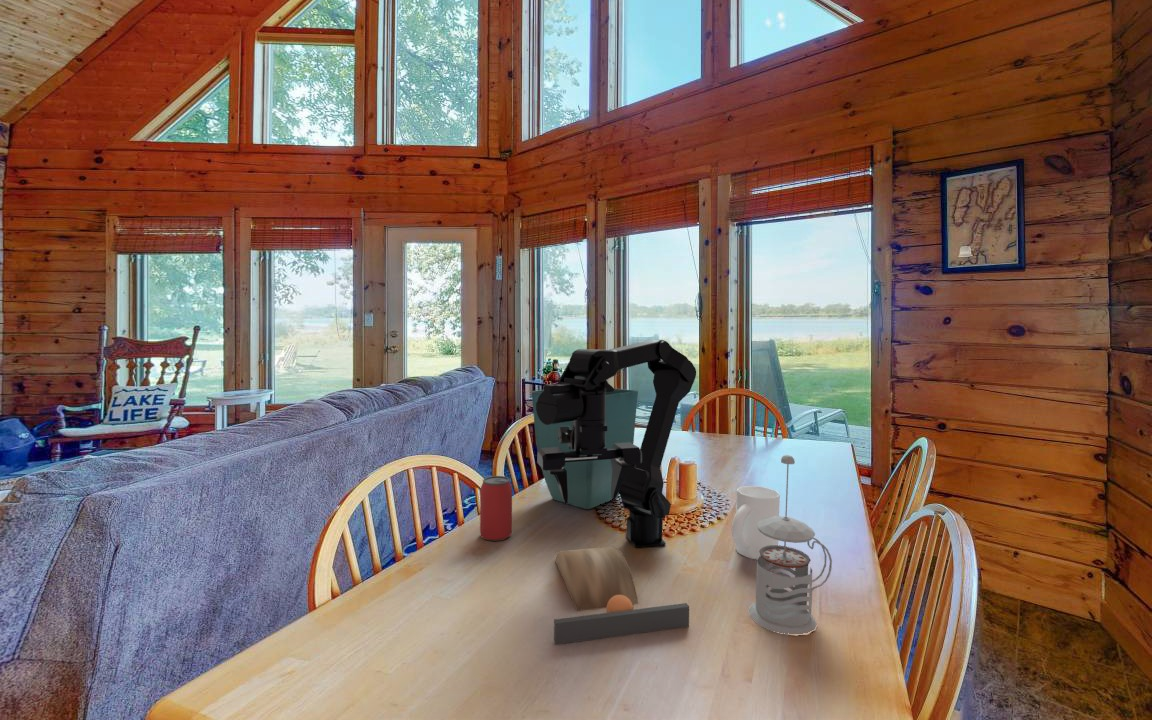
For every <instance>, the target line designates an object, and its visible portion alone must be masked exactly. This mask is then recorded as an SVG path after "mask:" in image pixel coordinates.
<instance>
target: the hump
mask: <svg viewBox="0 0 1152 720" xmlns="http://www.w3.org/2000/svg"><path fill="white" fill-rule="evenodd" d="M554 561H555V563H556V565H557V568H558V570H559V572H560V575H561V576H562V579H563V581H564V584H565V586H566V589H567V590H568V592H569V594H570V597H571V599H572V602H573V604H574V606H575V609H576V611H579V612H580V611H586V610H587V611H588V610H595V609H602V608H604V609H606V608H607V604H608V601H609V600H610V599H611V598H612V597H613V596H615V595H624V596H626V597H627V598H629V599H630V601H631V602H632V605H634V604H635V605H636V604H639V600H638V595H637V590H636V587H635V582H634V578H633V576H632V573H631V569H630V567H629V564H628V561H627V559H626V558H625V556H624V554H623V552H622V551H621V550H620V549H619V548H618V547H617V546H605V547H604V546H603V547H602V546H601V547H593V548H592V547H591V548H581V549H571V550H570V549H569V550H560V551H558V552H557V554H556V556H555V559H554Z"/></svg>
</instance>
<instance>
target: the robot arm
mask: <svg viewBox="0 0 1152 720" xmlns="http://www.w3.org/2000/svg"><path fill="white" fill-rule="evenodd" d="M646 363H647V368H648V369H649V371H650V372H651V373H652V374H653V380H652V384H653V387H654V391H655V398H654V401H653V405H652V409H651V413H650V415H649V418H648V421H647V424H646V429H645V432H644V435H643V439H642V442H641V445H640V447H638V446H637V445H635V444H634V443H633V444H632V443H630V442H627V443H614V444H613V446H612V449H607V448H606V447H605V431H607V425H605V414H606V393H607V392H613V391H614V389H615V388H614V386H613V385H611V384H610V383H609V382H608V380H610V379H611V378H613V377H614V376H616V375H617V374H618V372H619V371H621V370H623V369H627V368H631V367H635V366H638V365H641V364H646ZM696 376H697V369H696V367H695V366H694V364H693V362H692V361H691V360H690V359H688V357H687V356H686V355H684V354H683V353H682V352H680V351H679V350H676V349H675V348H674V347H672V345H671V344H670V343H669V342H668V341H666V340H665V339H647V340H644V341H641V342H636V343H633V344H632V343H631V344H627V345H623V346H620V347H614V348H609V349H594V348H593V349H591V348H589V349H585V348H578V349H575V350H573V352H572V353H571V356H570V357H569V361H568V363H567V365H566V367H565V368H564V370H563V372H562V374H561V375H560V378H559V380H558V381H557V383H556V384H549V383H548V384H543V390H544V392H542V393H541V394H540V395H539V397H538V401H537V403H536V411H537V415H538V417H539V419H540V421H541V422H542V423H544V424H546V425H550V424H556V423H562V422H569V421H573V429H572V430H570V429H569V426H560V427H558V442H559V444H563V443H568V448H569V449H574V451H569V452H563V451H562V450H561V449H560V448H559V447H548V448H540V449H539V451H537V453H536V454H537V456H536V457H537V462H536V463H537V464H538V465H539V467H540V468H541V470H542V469H543V470H547V471H548V472H549V473H550V474H552V475H554V476H555V478H556V481H557V483H558V486H559V489H560V492H561V495H562V498H563V501H564V502H563V503H564V505H568V504H567V502H568V487H567V471H566V470H565V469H564V465H565V462H577V461H591V460H605V459H611V464H612V480H611V498H612V499H613V500H612V501H615V500H616V499H617V498H616V496H617V494H618V492H619V496H620V499H621V503H622V506H623V508H624V509H625V510H628V512H629V513H628V515H629V516H628V517H627V518H626V533H625V536H626V538H627V539H628V540H629V542H631V544H632V545H633V546H634V547H635V548H650V547H659V546H666V543H667V542H666V541H665V540H664V539H663V525H664V524H663V523H664V522H663V521H664V520H663V519H666V516H668V515H670V510H671V507H672V503H671V502H670V501H669V500H668V498H667V497H666V496H665V495H664V493H663V490H664V482H665V481H664V478H663V473H662V471H661V467H662V466H661V465H662V463H663V459H664V456H665V452H666V448H667V445H668V442H669V439H670V434H671V431H672V428H673V425H674V424H673V423H674V421H675V417H676V414H677V411H678V407H679V403H680V402H681V401H682V400H683V399H684V398H685V397H686V396H687V395H689V393H690V392H691V390H692V387H693V386H694V385H693V384H694V382H695V380H696ZM597 454H600V455H597ZM580 455H587V456H580Z"/></svg>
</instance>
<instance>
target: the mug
mask: <svg viewBox="0 0 1152 720" xmlns="http://www.w3.org/2000/svg"><path fill="white" fill-rule="evenodd" d="M780 497H781V495H780V493H779V492H778V491H777V490H776V489H771V488H770V487H769V488H768V487H765V486H758V485H746V486H745V485H744V486H740V487H738V488H737V489H736V504H735V505H736V506H735V512H736V513H735V514H734V516H733V519H732V524H731V537H732V539H733V541H734V542H733V543H734V544H735V545H734V549H735V551H736V552H737V553H738V554H739V555H741V556H743V557H745V558H748V559H752V560H756V561H757V560H758V558H759V557H760V556H761V555H760V552H759V551H760V549H761V548H763V547H766V546H769V545H770V546H771V545H776V546H777V545H778V546H779V540H775V539H772V538H770V537H767V536H765V535H764V534H762V533H761V532H760V531H759V529H758V526H757V524H758V523H759V522H760V521H762V520H764V519H768V518H771V517H775V516H780V502H781V501H780Z"/></svg>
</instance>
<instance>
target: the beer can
mask: <svg viewBox="0 0 1152 720" xmlns="http://www.w3.org/2000/svg"><path fill="white" fill-rule="evenodd" d="M479 491H480V493H479V494H480V495H479V497H480V498H479V499H480V500H479V502H480V506H479V511H480V512H479V521H480V522H479V524H480V526H479V528H480V529H479V534H480V537H481V538H482V539H484V540H487V541H493V542H497V541H498V542H499V541H503V540H506V539H508V538H509V537H510V536H511V535H512V532H513V530H512V529H513V527H512V526H513V488H512V485H511V483H510V477H508V476H501V475H492V476H487V477H485V478H483V479H482V484H481V486H480V490H479Z"/></svg>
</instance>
